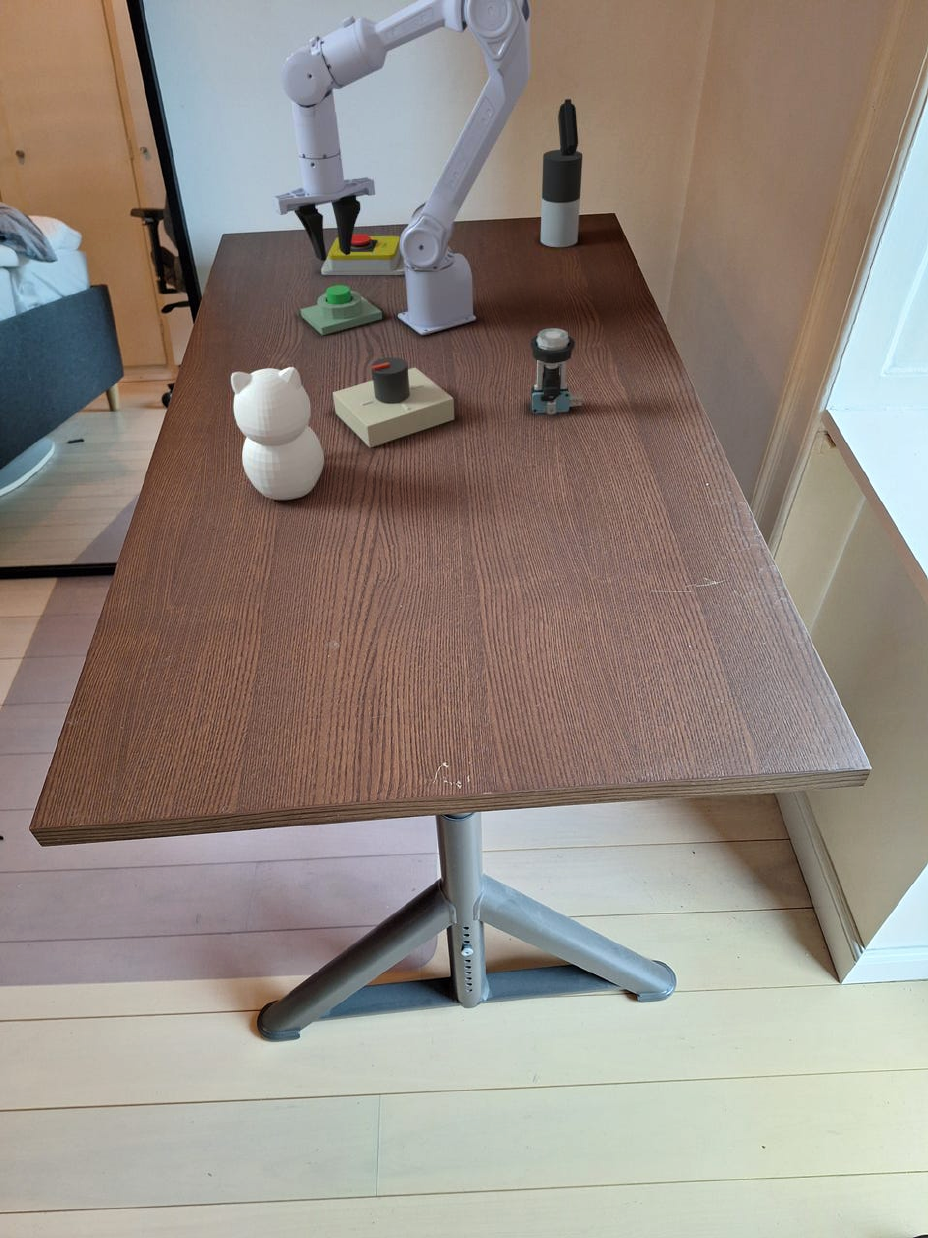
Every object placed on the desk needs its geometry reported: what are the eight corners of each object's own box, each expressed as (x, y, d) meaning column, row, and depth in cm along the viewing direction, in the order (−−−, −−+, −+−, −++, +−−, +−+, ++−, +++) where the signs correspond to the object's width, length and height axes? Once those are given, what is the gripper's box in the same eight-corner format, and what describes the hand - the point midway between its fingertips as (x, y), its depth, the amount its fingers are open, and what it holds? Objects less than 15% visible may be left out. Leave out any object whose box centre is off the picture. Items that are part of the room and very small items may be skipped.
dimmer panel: (416, 387, 114) (415, 365, 112) (454, 419, 108) (453, 396, 106) (335, 413, 110) (332, 391, 108) (369, 448, 103) (367, 425, 101)
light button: (345, 294, 131) (343, 283, 130) (355, 302, 129) (354, 290, 127) (323, 300, 130) (322, 288, 128) (333, 308, 127) (332, 296, 126)
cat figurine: (247, 515, 94) (216, 392, 84) (252, 455, 103) (225, 337, 93) (328, 507, 95) (307, 384, 84) (326, 447, 104) (307, 330, 93)
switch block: (359, 301, 135) (357, 282, 133) (382, 318, 130) (380, 299, 128) (301, 316, 132) (298, 297, 130) (322, 335, 127) (319, 315, 125)
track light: (540, 259, 154) (555, 202, 134) (533, 167, 154) (547, 97, 134) (576, 257, 154) (596, 200, 134) (569, 166, 155) (588, 94, 135)
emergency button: (327, 228, 147) (413, 227, 146) (330, 254, 150) (414, 253, 149) (316, 248, 141) (406, 247, 139) (320, 274, 144) (408, 274, 142)
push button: (578, 397, 111) (583, 323, 104) (583, 418, 107) (589, 343, 100) (527, 399, 111) (528, 325, 104) (530, 420, 107) (532, 345, 100)
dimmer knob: (401, 383, 109) (398, 351, 106) (415, 398, 106) (412, 365, 103) (369, 391, 107) (365, 359, 105) (382, 406, 105) (379, 374, 102)
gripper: (355, 137, 120) (365, 236, 130) (258, 155, 115) (276, 257, 124) (377, 148, 116) (386, 250, 125) (278, 168, 111) (295, 273, 120)
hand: (333, 255), depth 124 cm, fingers open, 3 cm apart
